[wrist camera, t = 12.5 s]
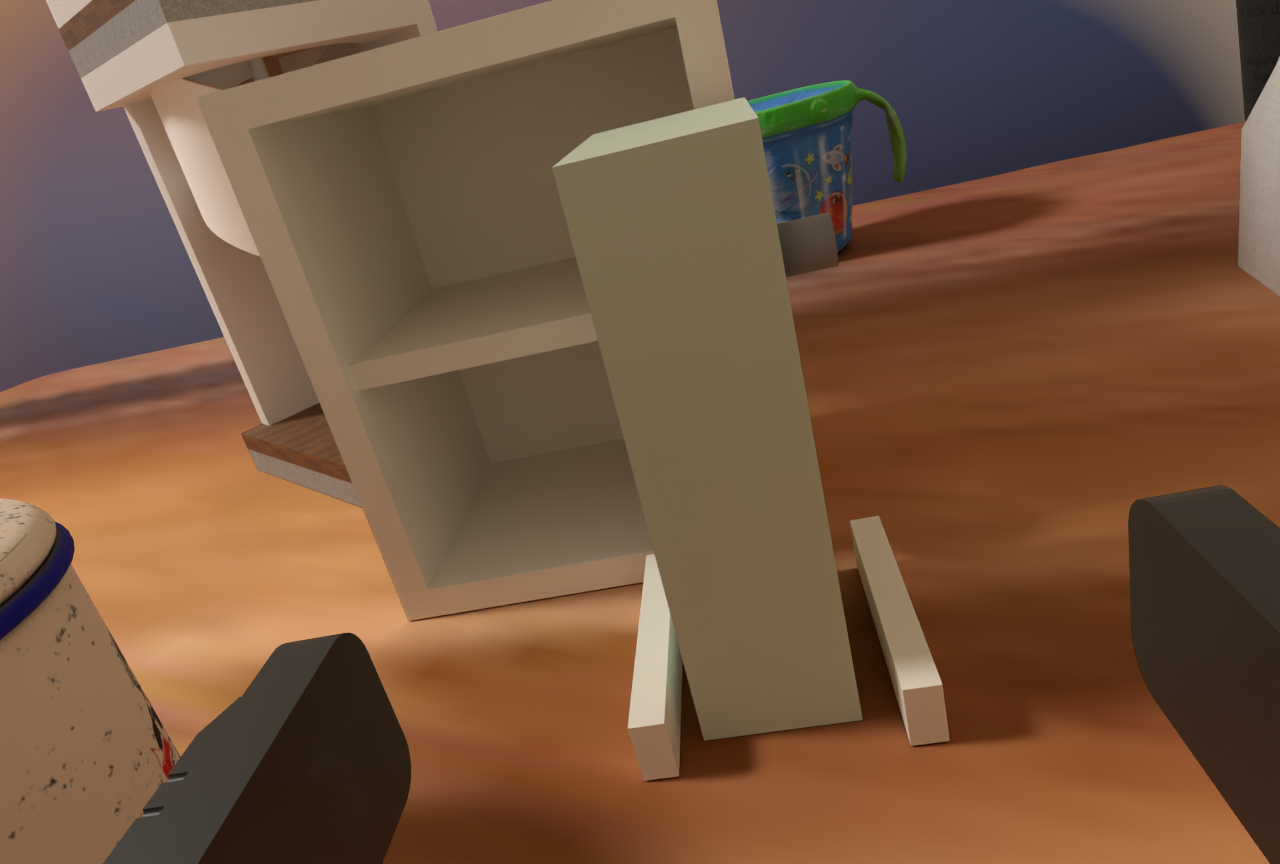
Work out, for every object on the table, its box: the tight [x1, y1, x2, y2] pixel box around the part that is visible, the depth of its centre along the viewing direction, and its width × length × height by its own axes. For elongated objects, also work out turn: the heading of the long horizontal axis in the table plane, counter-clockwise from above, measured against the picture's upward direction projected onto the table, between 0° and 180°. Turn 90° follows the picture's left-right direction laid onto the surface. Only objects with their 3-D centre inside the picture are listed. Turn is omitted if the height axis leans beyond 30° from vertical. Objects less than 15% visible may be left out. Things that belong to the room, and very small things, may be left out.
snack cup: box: [747, 80, 906, 252], centre depth 57 cm, size 16×10×10 cm
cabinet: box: [196, 0, 950, 781], centre depth 25 cm, size 15×18×16 cm
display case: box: [46, 0, 438, 507], centre depth 38 cm, size 11×11×35 cm
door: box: [552, 98, 863, 741], centre depth 20 cm, size 5×6×13 cm
